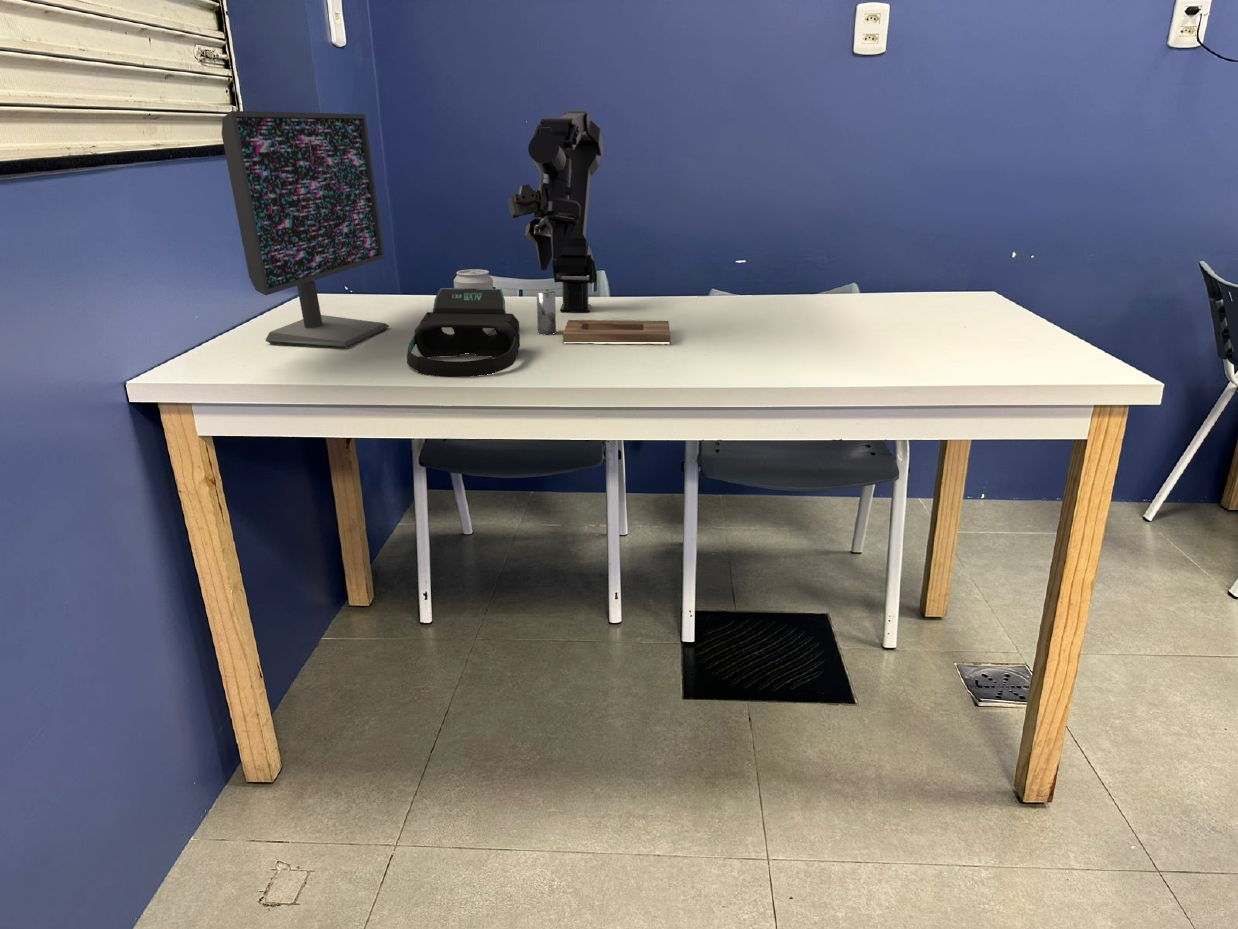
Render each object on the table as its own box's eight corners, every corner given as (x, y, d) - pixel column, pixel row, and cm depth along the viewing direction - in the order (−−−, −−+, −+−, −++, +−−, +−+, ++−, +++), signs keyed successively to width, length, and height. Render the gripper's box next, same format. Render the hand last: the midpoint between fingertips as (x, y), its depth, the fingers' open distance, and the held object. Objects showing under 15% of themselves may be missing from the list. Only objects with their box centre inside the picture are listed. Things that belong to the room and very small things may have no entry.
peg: (538, 330, 171) (537, 290, 168) (556, 330, 171) (555, 290, 168) (536, 334, 168) (535, 293, 165) (555, 335, 168) (554, 294, 165)
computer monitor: (309, 367, 144) (274, 110, 130) (222, 362, 147) (179, 110, 133) (416, 315, 184) (399, 114, 169) (347, 312, 187) (324, 113, 172)
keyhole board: (568, 329, 172) (568, 319, 171) (668, 330, 171) (668, 320, 171) (563, 343, 161) (562, 333, 160) (670, 344, 160) (670, 334, 160)
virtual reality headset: (525, 340, 160) (522, 288, 155) (512, 392, 141) (509, 335, 136) (424, 338, 160) (419, 287, 154) (399, 391, 141) (391, 334, 136)
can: (453, 336, 166) (449, 273, 162) (461, 327, 173) (457, 267, 169) (491, 336, 166) (488, 274, 162) (498, 328, 173) (495, 267, 169)
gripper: (503, 191, 170) (497, 269, 170) (524, 159, 152) (518, 246, 152) (557, 200, 174) (552, 277, 173) (584, 170, 156) (579, 256, 156)
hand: (549, 264), depth 163 cm, fingers open, 9 cm apart
